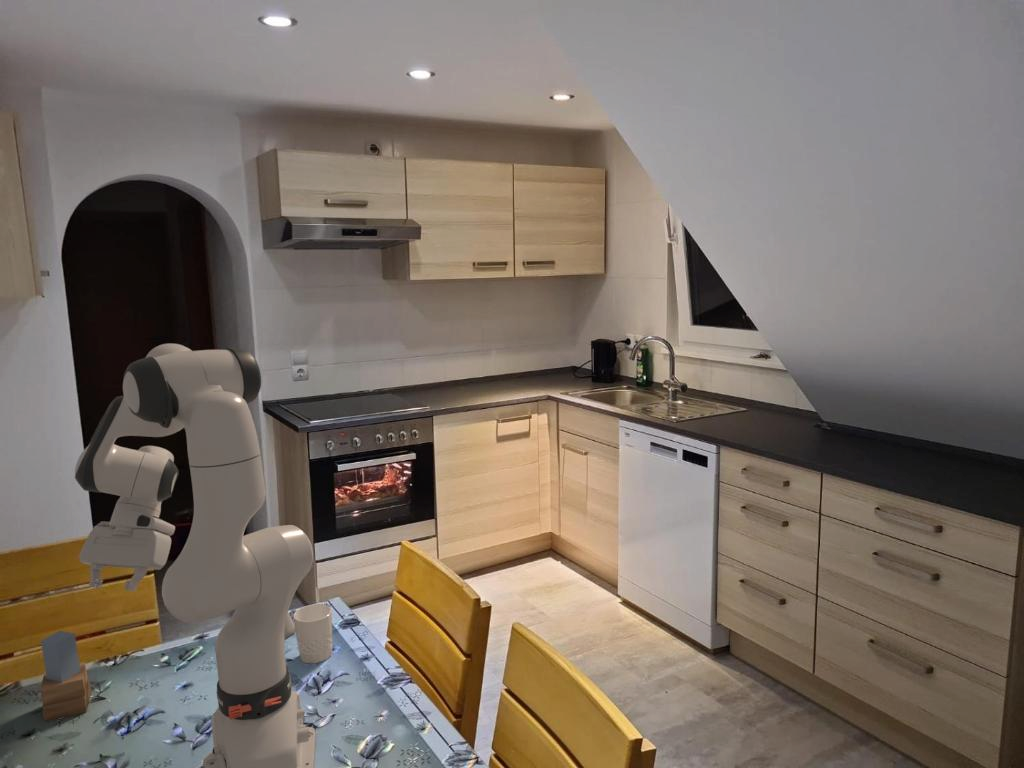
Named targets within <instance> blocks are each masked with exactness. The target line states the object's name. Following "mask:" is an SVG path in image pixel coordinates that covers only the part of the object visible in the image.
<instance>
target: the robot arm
mask: <svg viewBox="0 0 1024 768" xmlns="http://www.w3.org/2000/svg"><path fill="white" fill-rule="evenodd" d="M257 361H258V360H256V358H255V356H253V355H252V354H251V353H250V351H248V350H247V349H244V348H238V347H225V348H223V349H203V350H202V349H201V350H192V349H190V348H189V347H186V346H184V345H183V344H179V343H163V344H159V345H158V346H157V345H156V346H155V347H154V348H152V349H151V350H150V351H149V352H148V353H147V355H146V356H145V357H144V358H140V359H137V360H134V361H133V362H131V363H129V365H128V366H127V368H126V369H125V370H124V373H123V380H122V392H123V395H120V396H116V397H115V398H114V399H113V400H112V401H111V402H110V404H109V405H108V407H107V409H106V410H105V412H104V414H103V416H102V417H101V419H100V421H99V423H98V425H97V426H96V429H95V430H94V433H93V435H92V436H91V438H90V441H89V444H88V446H86V447H85V448H84V449H83V451H82V452H81V453H80V455H79V457H78V459H77V462H76V463H75V468H74V479H75V481H76V482H77V483H78V485H79V486H80V487H81V488H82V489H83V490H84V491H86V492H93V493H104V494H110V495H115V496H119V498H118V499H117V501H116V502H115V506H114V509H113V512H112V514H111V517H110V520H109V521H100V522H99V523H97V524H96V525H95V526H93V528H92V530H91V531H90V532H89V534H88V536H87V537H86V539H85V541H84V544H83V545H82V549H80V553H79V556H78V558H79V563H82V564H85V565H88V566H89V567H90V568H89V573H90V574H89V575H90V581H89V584H88V586H89V587H90V588H93V589H100V588H101V587H102V584H103V582H104V579H101V572H104V568H105V567H110V568H126V569H133V575H132V576H131V578H130V580H126V582H125V585H124V589H123V590H125V591H130V592H136V591H137V588H138V586H139V583H141V581H142V580H143V579H144V578H145V577H146V575H147V572H148V570H157V571H160V570H161V569H162V568H164V567H165V565H166V563H167V561H168V558H169V554H170V550H171V545H172V538H171V536H173V535H174V534H175V531H176V526H175V525H174V524H171V523H169V522H167V521H165V520H163V519H162V518H160V516H161V512H162V511H161V510H162V503H163V501H165V500H168V499H169V498H171V497H172V495H173V491H174V487H175V484H176V482H177V480H178V477H179V473H180V471H179V469H178V467H177V465H176V464H175V462H174V461H175V457H174V454H173V453H172V452H171V451H170V450H168V449H166V448H163V447H160V446H156V445H144V446H140V448H139V449H132V448H128V447H123V446H120V445H117V444H115V443H116V440H117V439H118V438H121V437H129V436H131V437H132V436H133V437H147V438H148V437H152V438H162V437H163V438H164V437H168V436H171V435H174V434H176V433H177V432H180V431H181V430H183V429H184V430H185V437H186V445H187V458H188V466H189V471H190V480H191V487H192V497H193V516H192V523H191V527H190V531H189V534H188V537H187V538H186V542H185V544H184V546H183V548H182V550H181V552H180V554H178V556H177V558H176V559H175V560H174V561H173V563H172V564H171V565H170V566H169V567H168V568H167V569H166V572H165V575H164V577H163V579H162V585H161V597H162V600H163V604H164V606H165V607H166V609H167V611H168V612H169V613H170V614H171V616H173V617H174V618H176V619H177V620H178V621H180V622H182V623H185V624H192V623H199V622H203V621H207V620H212V619H215V618H219V617H222V616H224V615H226V614H228V613H231V612H233V611H234V612H233V614H232V616H231V617H230V618H229V620H228V621H227V622H226V623H225V624H224V626H223V627H222V628H221V629H220V631H219V633H218V634H217V636H216V640H215V644H214V645H215V646H214V650H215V659H216V660H215V661H216V668H217V678H218V680H217V682H216V700H217V704H218V707H217V709H215V711H214V713H213V714H212V715H211V716H210V720H211V732H212V743H213V747H212V751H211V752H210V753H209V754H207V755H206V756H205V757H204V758H203V760H202V766H203V768H315V759H316V757H315V756H316V743H317V742H316V741H317V733H316V730H315V728H313V727H311V726H307V725H306V724H304V722H303V719H304V718H305V709H304V708H302V706H301V705H302V704H301V696H300V693H298V692H297V691H294V690H293V689H292V677H291V674H290V669H289V667H288V665H287V663H286V662H287V661H286V648H285V647H286V645H285V639H284V630H285V622H286V617H287V613H289V608H290V607H291V603H292V601H293V598H294V595H296V591H297V590H298V588H299V586H300V584H301V583H302V581H303V580H304V578H305V577H306V576H307V575H308V574H309V572H310V571H311V569H312V566H313V560H314V548H313V545H312V542H311V540H310V538H309V536H308V535H307V534H306V532H304V531H303V530H302V528H299V527H298V526H296V525H293V524H287V525H277V526H276V525H275V526H270V527H265V528H263V529H259V530H256V531H254V532H251V533H248V534H244V533H245V531H246V528H247V526H248V525H249V522H250V520H251V519H252V518H253V517H254V516H255V514H256V513H257V512H258V511H260V509H261V508H262V506H263V505H264V503H265V501H266V496H267V491H266V485H265V482H266V481H265V475H264V470H263V469H264V468H263V461H262V456H261V450H260V449H261V448H260V443H259V438H258V433H257V430H256V425H255V422H254V419H253V415H252V412H251V410H250V408H249V405H248V404H250V403H252V402H253V401H255V400H257V398H258V396H259V394H260V392H261V388H262V374H261V369H260V366H259V363H258V362H257Z"/></svg>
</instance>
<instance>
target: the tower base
mask: <svg viewBox="0 0 1024 768" xmlns="http://www.w3.org/2000/svg"><path fill="white" fill-rule="evenodd" d="M91 688H92V687H91V682H90V678H87V686H86V694H85V696H82V697H78V698H74V699H70V700H66V701H62V702H59V703H55V704H51V705H47V706H43V705H42V707H41V708H42V714H43V715H42V716H43V720H44V723H47V722H51V721H50V720H52V721H55V719H56V720H60V719H59V718H61V719H63V718H62V717H65V718H68V717H67V716H69V717H73V716H72V715H74V716H77V715H76V714H78V715H81V713H82V714H86V713H85V712H88V709H89V705H90V701H89V700H90V699H91V697H90V696H92V689H91ZM88 704H89V705H88ZM87 708H88V709H87Z"/></svg>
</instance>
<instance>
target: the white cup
mask: <svg viewBox="0 0 1024 768" xmlns="http://www.w3.org/2000/svg"><path fill="white" fill-rule="evenodd" d="M332 615H333V614H332V608H331V607H330V606H329V605H327V604H323V603H321V604H320V603H316V604H315V603H314V604H309V605H305V606H303V607H302V606H301V607H300V608H299V609H296V611H295V612H294V613H293V622H294V624H295V636H296V641H297V643H296V644H297V647H298V651H299V658H300V660H301V662H303V663H305V664H318V663H321V662H325V661H327V660H328V659H329V658H330V657H332V654H333V619H332V618H333V617H332ZM324 660H325V661H324Z"/></svg>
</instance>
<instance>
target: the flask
mask: <svg viewBox="0 0 1024 768" xmlns="http://www.w3.org/2000/svg"><path fill="white" fill-rule="evenodd" d="M294 634H296V631H295V624H294V619H293V618H292V616H291V615H290V612H288V613H287V617H286V622H285V630H284V640H285V639H287V638H288V637H289V638H290V636H292V635H294Z"/></svg>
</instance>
